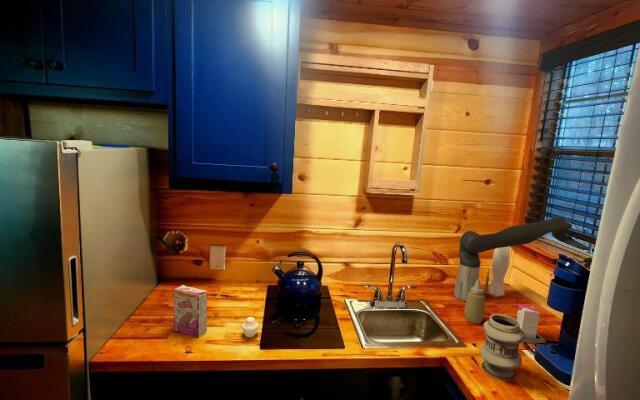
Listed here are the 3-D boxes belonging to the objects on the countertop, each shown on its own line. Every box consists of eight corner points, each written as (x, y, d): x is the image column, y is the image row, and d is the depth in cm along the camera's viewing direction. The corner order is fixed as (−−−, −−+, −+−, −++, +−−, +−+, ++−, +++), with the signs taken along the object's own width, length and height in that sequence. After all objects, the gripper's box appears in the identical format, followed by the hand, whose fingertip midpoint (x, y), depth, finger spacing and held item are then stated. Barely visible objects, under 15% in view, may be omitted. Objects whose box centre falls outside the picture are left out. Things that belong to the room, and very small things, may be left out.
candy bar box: (173, 331, 124) (172, 289, 122) (182, 325, 129) (182, 284, 126) (198, 338, 121) (198, 295, 118) (207, 331, 125) (207, 289, 123)
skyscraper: (494, 289, 180) (501, 238, 175) (508, 296, 172) (515, 242, 168) (483, 291, 176) (489, 239, 172) (496, 298, 169) (504, 244, 165)
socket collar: (517, 342, 129) (518, 338, 129) (505, 328, 139) (505, 325, 139) (544, 344, 129) (545, 340, 129) (530, 330, 139) (530, 327, 139)
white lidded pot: (241, 340, 121) (241, 322, 120) (241, 331, 127) (242, 313, 126) (258, 339, 122) (259, 321, 121) (258, 330, 128) (258, 313, 127)
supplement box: (536, 340, 131) (540, 312, 129) (519, 338, 132) (523, 310, 130) (529, 332, 136) (533, 305, 135) (513, 330, 137) (517, 303, 136)
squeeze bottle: (483, 318, 147) (488, 279, 144) (483, 327, 139) (489, 285, 137) (463, 314, 150) (468, 275, 147) (462, 322, 143) (467, 281, 140)
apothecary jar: (471, 359, 117) (477, 310, 114) (504, 359, 118) (511, 311, 115) (490, 383, 105) (498, 329, 102) (527, 383, 106) (536, 330, 103)
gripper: (589, 253, 142) (549, 250, 143) (616, 264, 128) (571, 261, 129) (585, 270, 143) (546, 267, 144) (612, 283, 129) (568, 280, 130)
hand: (558, 264), depth 136 cm, fingers open, 8 cm apart
